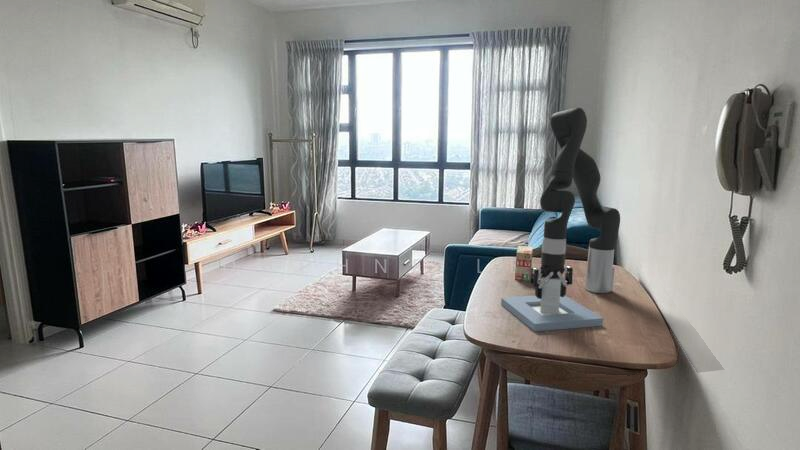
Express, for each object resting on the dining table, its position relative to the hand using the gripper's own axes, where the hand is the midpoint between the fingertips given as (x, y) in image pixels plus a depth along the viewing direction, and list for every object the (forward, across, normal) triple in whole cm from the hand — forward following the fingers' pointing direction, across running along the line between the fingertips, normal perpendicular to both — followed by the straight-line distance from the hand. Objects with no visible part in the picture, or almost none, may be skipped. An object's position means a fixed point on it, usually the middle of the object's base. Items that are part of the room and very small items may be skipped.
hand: (550, 297), depth 156 cm
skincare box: (+5, 0, 0) cm, 5 cm away
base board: (+6, 0, 0) cm, 6 cm away
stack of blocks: (+6, -15, -46) cm, 49 cm away
